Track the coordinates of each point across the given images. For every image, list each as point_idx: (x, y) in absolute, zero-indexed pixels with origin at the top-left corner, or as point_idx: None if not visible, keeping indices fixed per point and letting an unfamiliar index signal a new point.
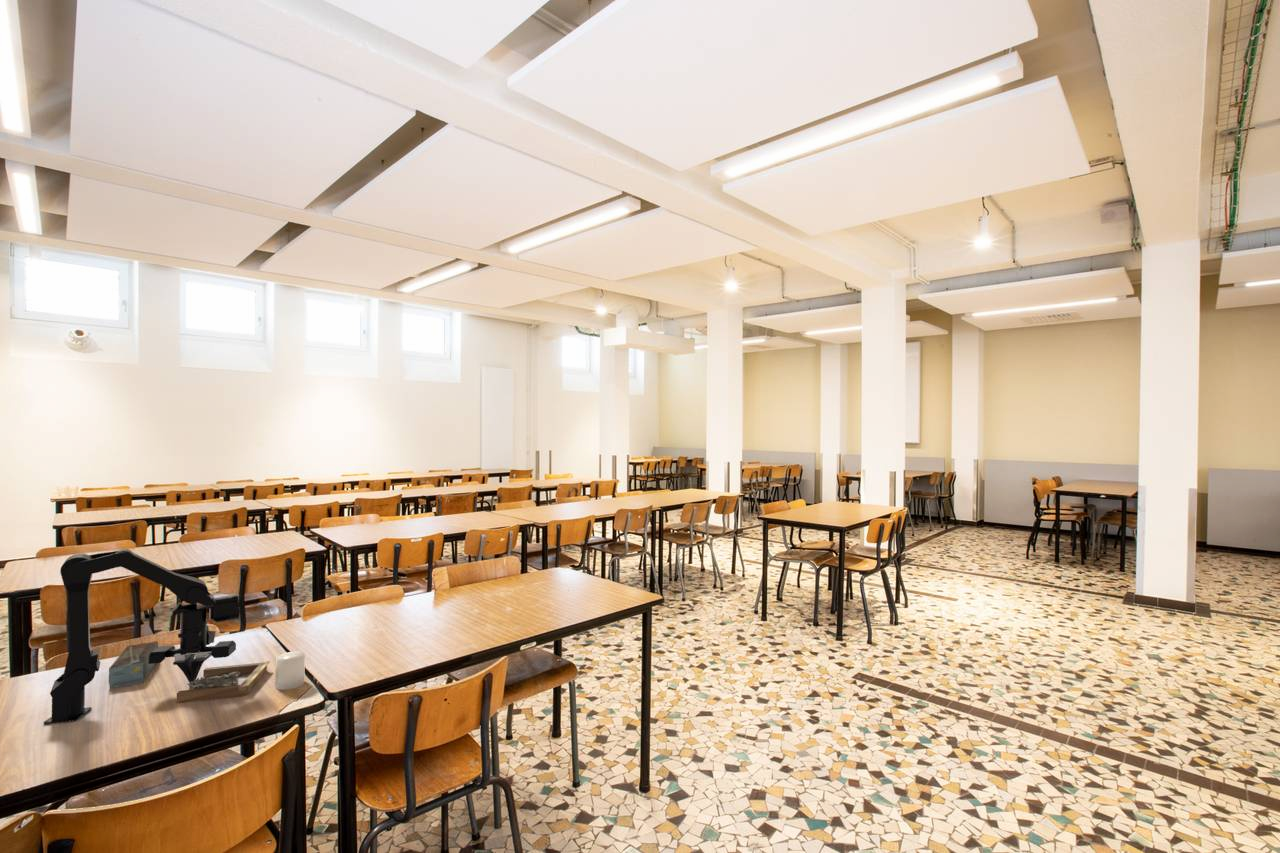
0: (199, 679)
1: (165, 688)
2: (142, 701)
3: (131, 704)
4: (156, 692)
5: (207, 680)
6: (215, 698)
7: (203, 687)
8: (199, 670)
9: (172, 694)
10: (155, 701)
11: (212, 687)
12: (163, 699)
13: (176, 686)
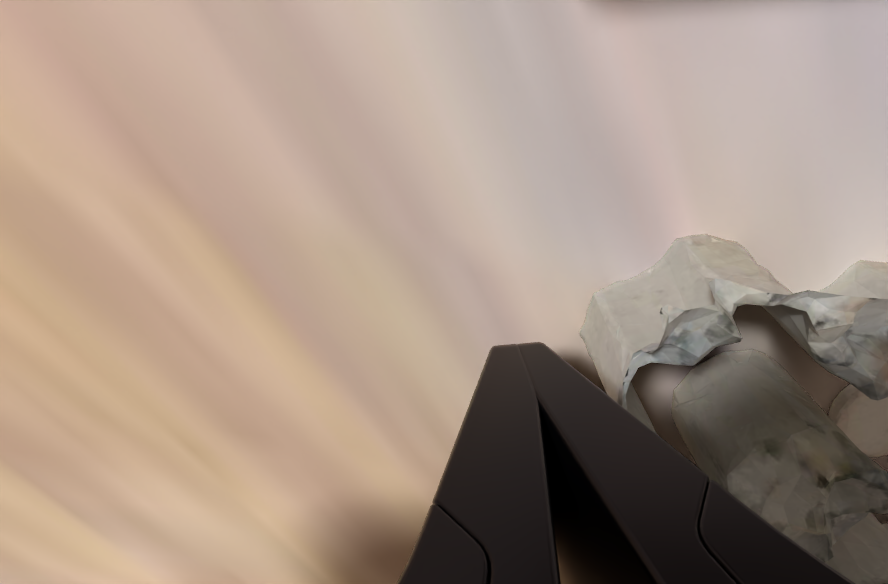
0: (628, 365)
1: (17, 208)
2: (82, 539)
3: (23, 580)
4: (10, 336)
5: (818, 533)
6: None
7: None
8: (685, 464)
9: (315, 426)
10: (243, 553)
11: (861, 569)
12: (300, 525)
13: (154, 153)
